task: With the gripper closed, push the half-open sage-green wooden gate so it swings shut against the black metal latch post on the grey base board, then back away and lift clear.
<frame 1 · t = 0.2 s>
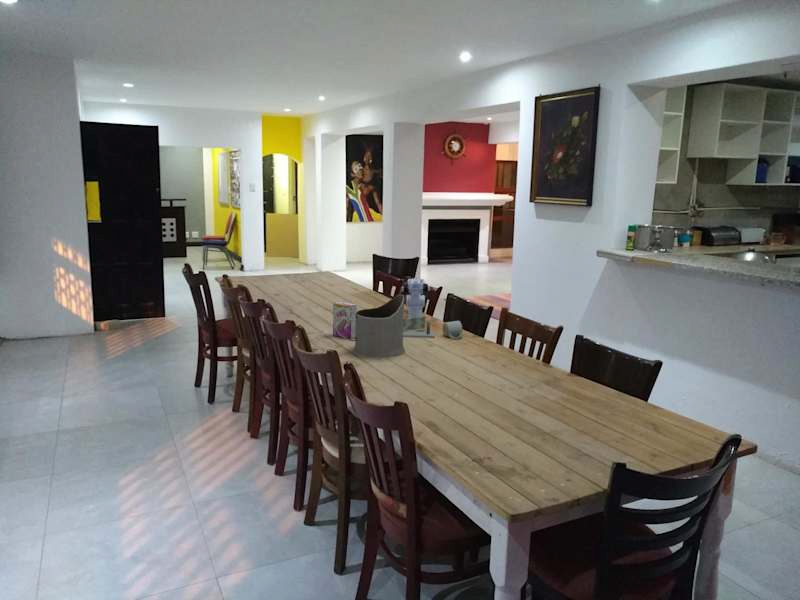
hand: (415, 291, 304), 21 cm above the table, tool horizontal, fingers open, 7 cm apart
gate: (412, 323, 307), point 4 cm above the table, hinge at 35.0°
gate base: (413, 335, 302), on the table
ceramic mug: (453, 337, 301), on the table
pitcher: (369, 352, 272), on the table
candy bar box: (344, 337, 296), on the table
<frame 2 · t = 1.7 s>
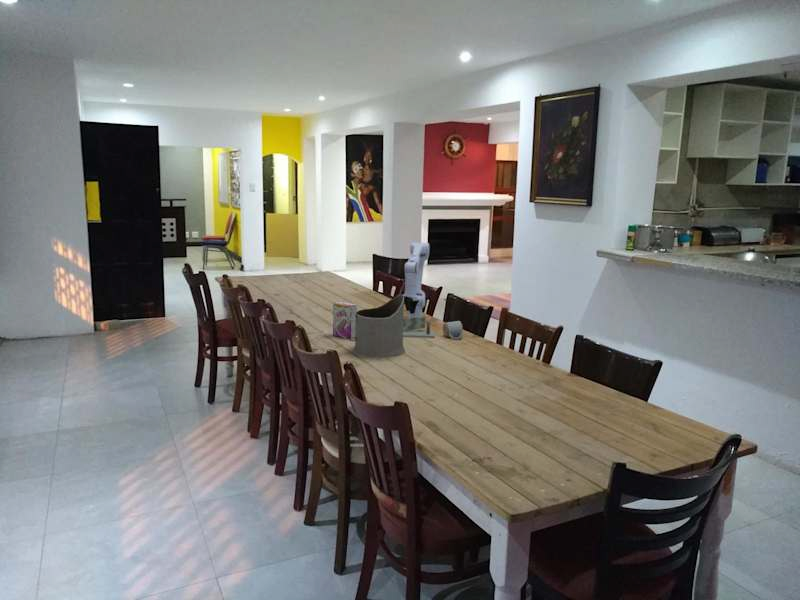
hand: (410, 312, 311), 9 cm above the table, tool pointing down, fingers open, 6 cm apart
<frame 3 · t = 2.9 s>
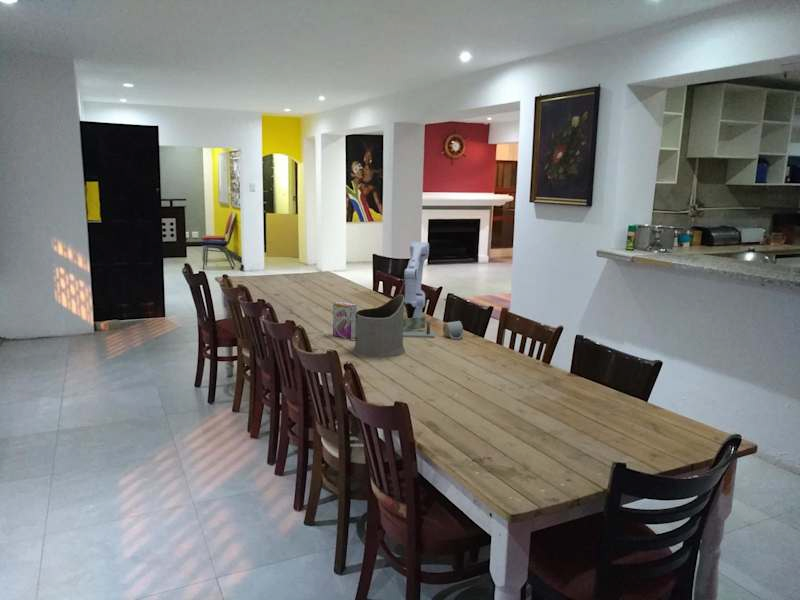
hand: (410, 318, 311), 6 cm above the table, tool pointing down, fingers closed
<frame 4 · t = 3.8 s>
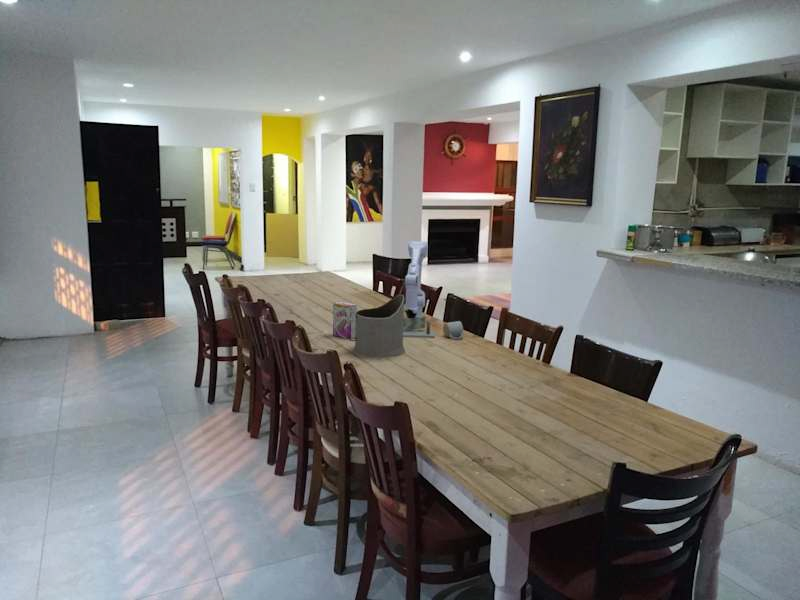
hand: (410, 324, 310), 3 cm above the table, tool pointing down, fingers closed
gate: (412, 323, 307), point 4 cm above the table, hinge at 35.0°, touching gripper
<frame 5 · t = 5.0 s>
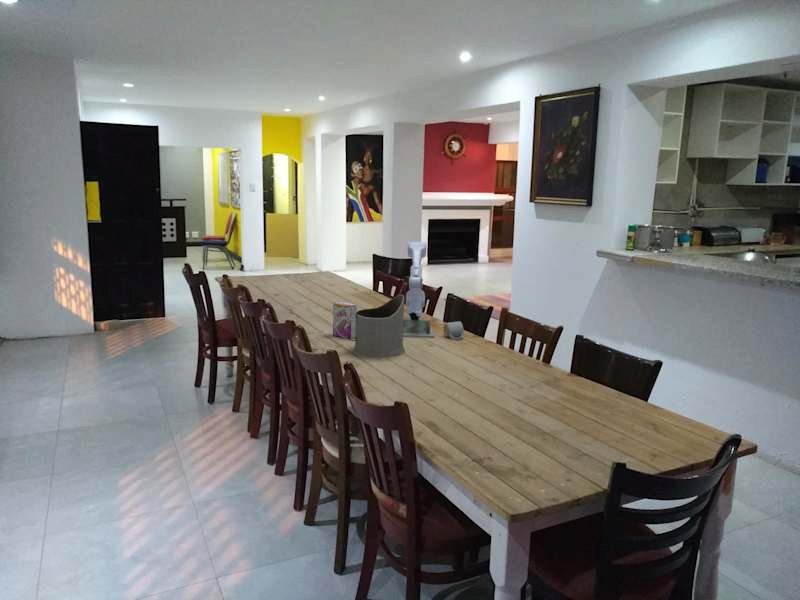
hand: (414, 327, 305), 3 cm above the table, tool pointing down, fingers closed, pressing on gate
gate: (415, 325, 303), point 4 cm above the table, hinge at 1.3°, touching gripper
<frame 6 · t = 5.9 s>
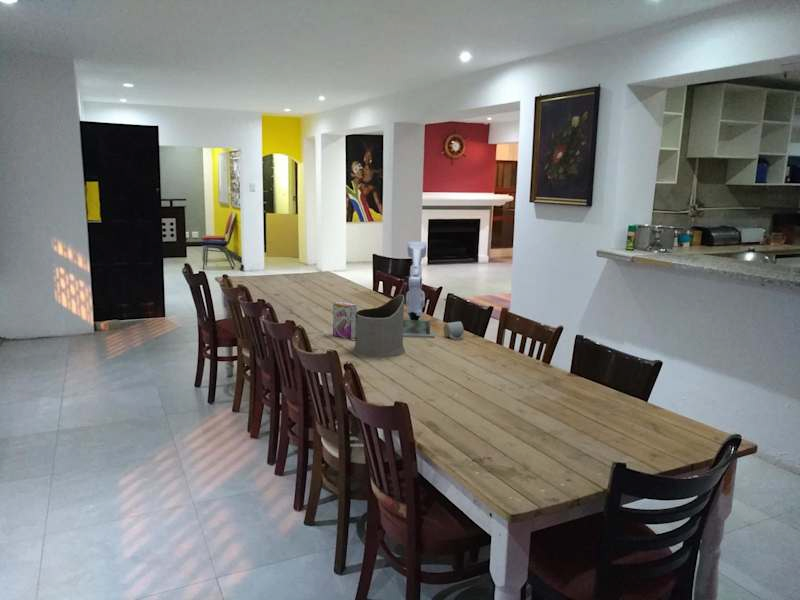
hand: (414, 326, 306), 3 cm above the table, tool pointing down, fingers closed, pressing on gate
gate: (415, 326, 303), point 4 cm above the table, hinge at -0.5°, touching gripper
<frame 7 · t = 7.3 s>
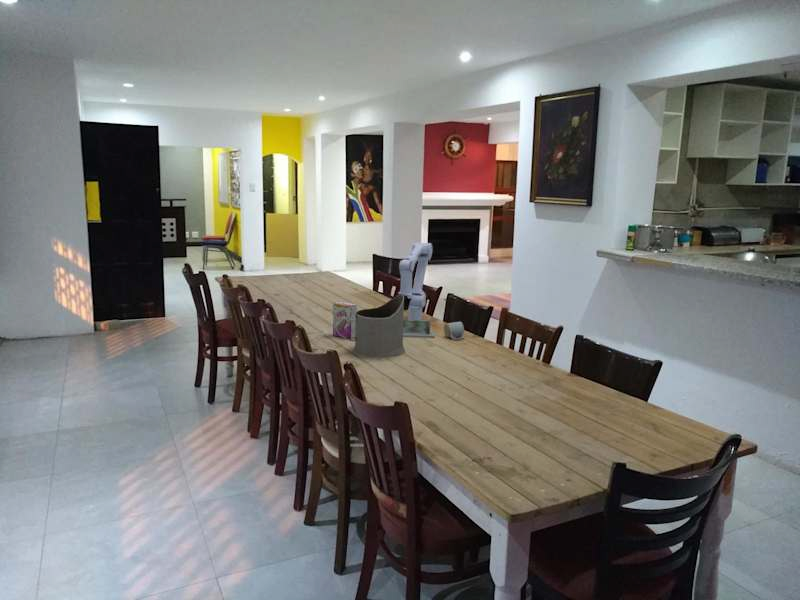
hand: (405, 310, 311), 10 cm above the table, tool pointing down, fingers closed
gate: (415, 326, 303), point 4 cm above the table, hinge at -0.5°
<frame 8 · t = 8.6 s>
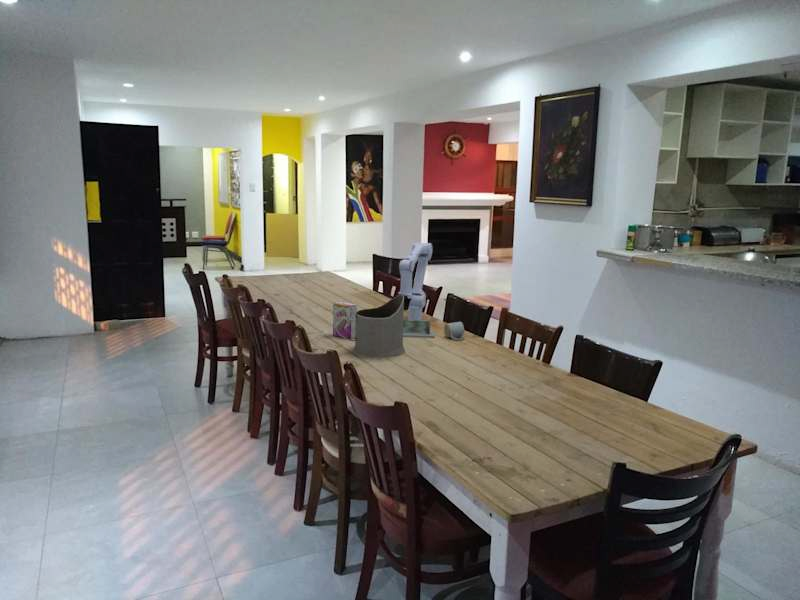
hand: (405, 310, 311), 10 cm above the table, tool pointing down, fingers closed
at the end: gate at +0° (first picture: +35°); ceramic mug moved 2.7 cm from its start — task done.
